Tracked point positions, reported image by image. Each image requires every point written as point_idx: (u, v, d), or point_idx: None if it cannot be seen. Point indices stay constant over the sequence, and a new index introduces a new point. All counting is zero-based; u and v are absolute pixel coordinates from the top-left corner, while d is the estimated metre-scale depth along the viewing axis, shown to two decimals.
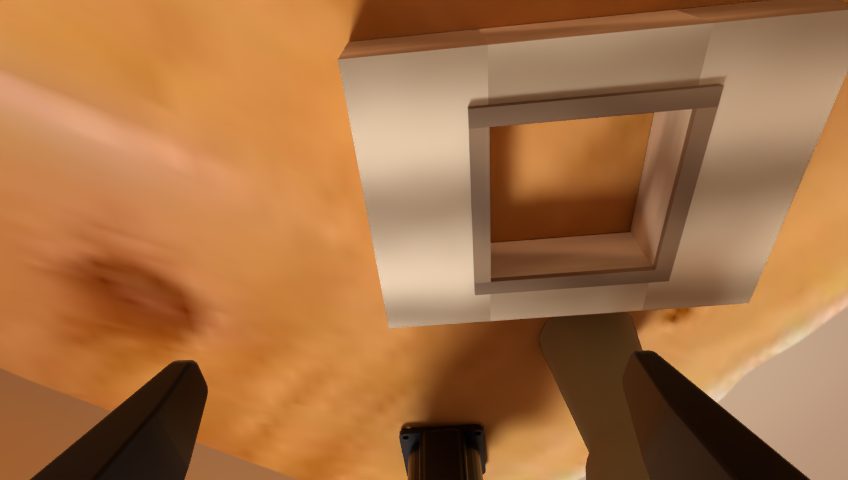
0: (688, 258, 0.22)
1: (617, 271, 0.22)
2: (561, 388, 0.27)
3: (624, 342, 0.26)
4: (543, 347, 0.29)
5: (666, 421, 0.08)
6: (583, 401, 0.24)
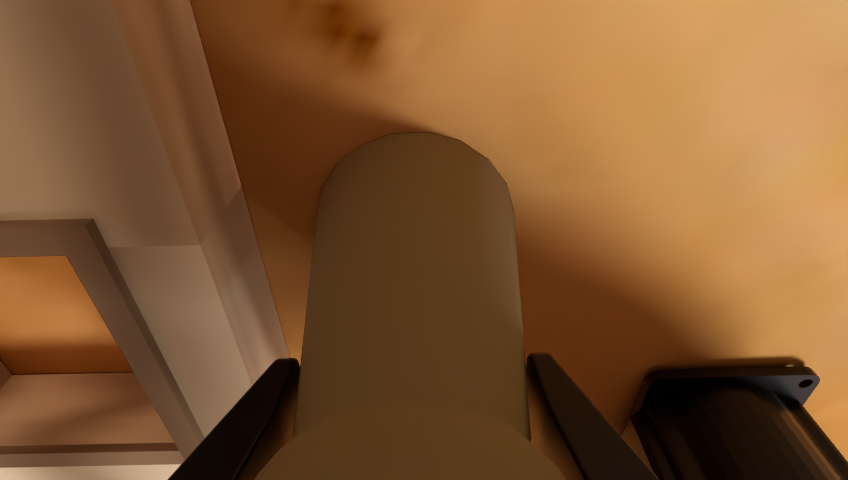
0: (26, 187, 0.10)
1: (101, 308, 0.12)
2: None
3: (314, 253, 0.11)
4: None
5: (546, 423, 0.08)
6: None
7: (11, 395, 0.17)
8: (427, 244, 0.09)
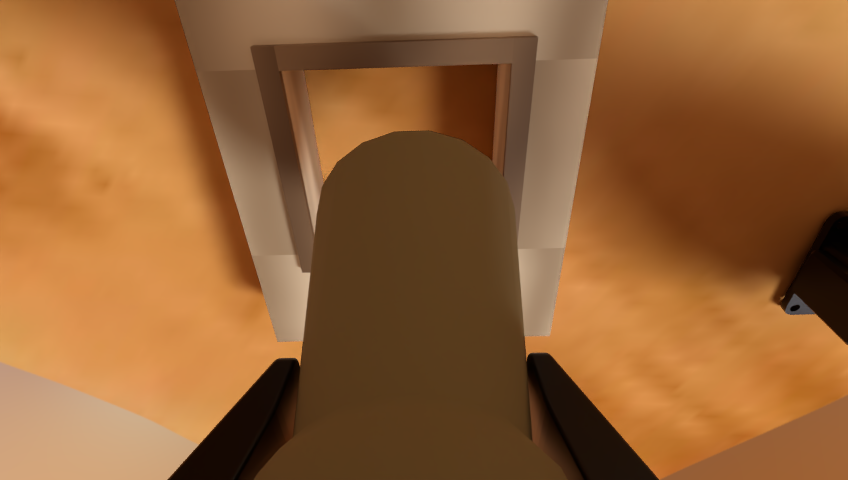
0: (505, 9, 0.15)
1: (507, 113, 0.17)
2: None
3: (314, 251, 0.11)
4: None
5: (546, 424, 0.08)
6: None
7: None
8: (427, 242, 0.09)
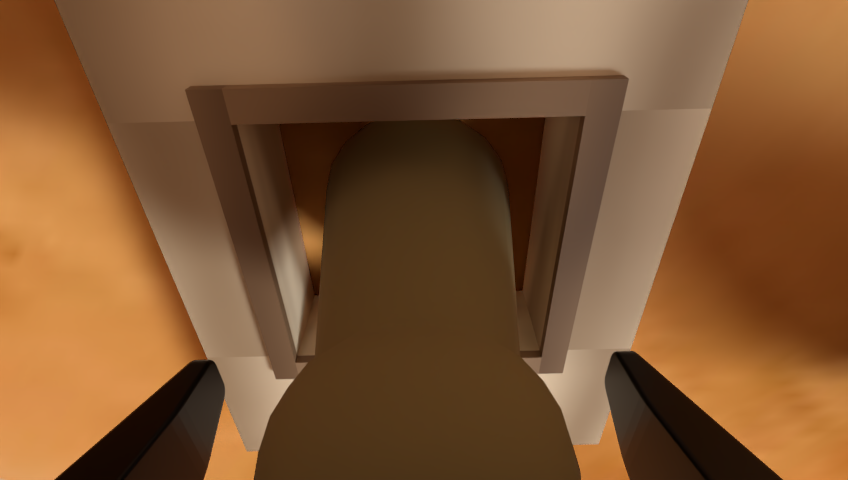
0: (581, 35, 0.10)
1: (571, 184, 0.11)
2: None
3: (327, 218, 0.12)
4: None
5: (644, 421, 0.08)
6: None
7: None
8: (430, 204, 0.10)
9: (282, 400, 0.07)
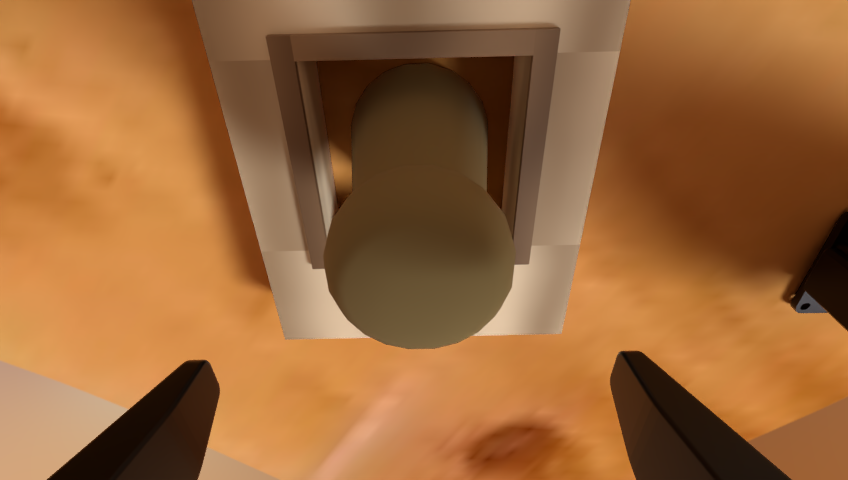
0: None
1: (527, 107, 0.16)
2: None
3: (355, 136, 0.17)
4: None
5: (651, 421, 0.08)
6: None
7: None
8: (428, 114, 0.15)
9: (340, 207, 0.12)
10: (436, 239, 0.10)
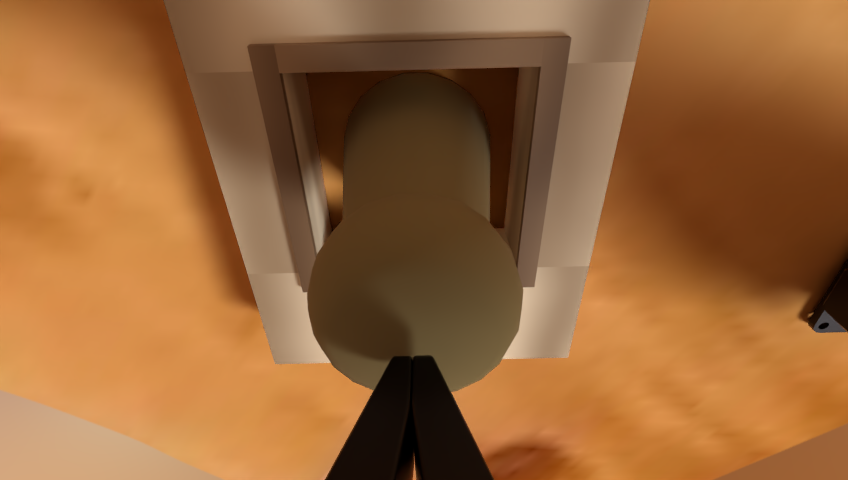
0: (535, 5, 0.13)
1: (533, 121, 0.15)
2: None
3: (347, 152, 0.16)
4: None
5: None
6: None
7: None
8: (425, 131, 0.14)
9: (326, 240, 0.11)
10: (434, 284, 0.09)
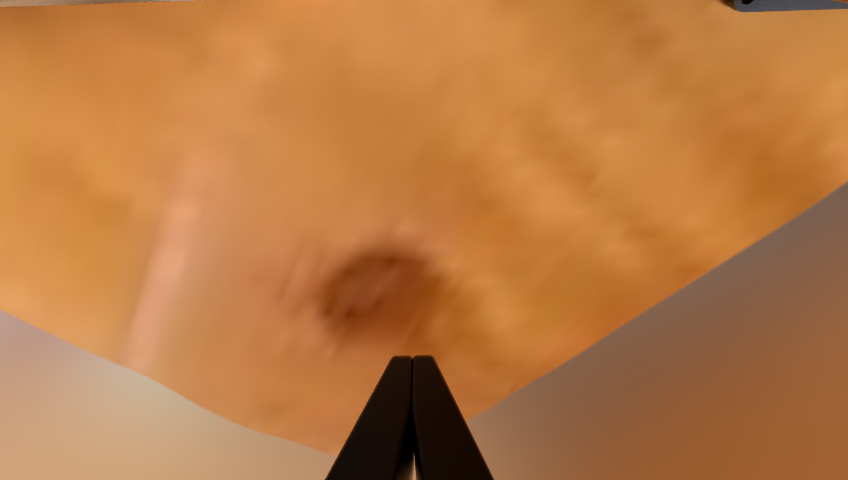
0: None
1: None
2: None
3: None
4: None
5: None
6: None
7: None
8: None
9: None
10: None
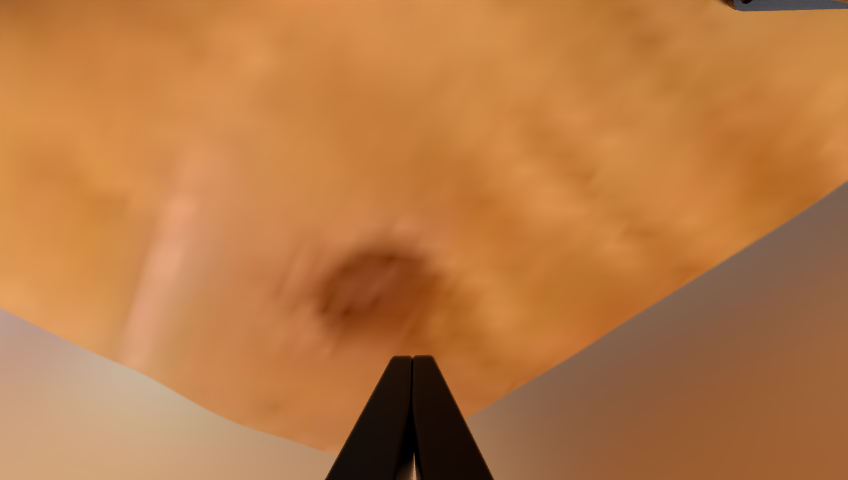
0: None
1: None
2: None
3: None
4: None
5: None
6: None
7: None
8: None
9: None
10: None
